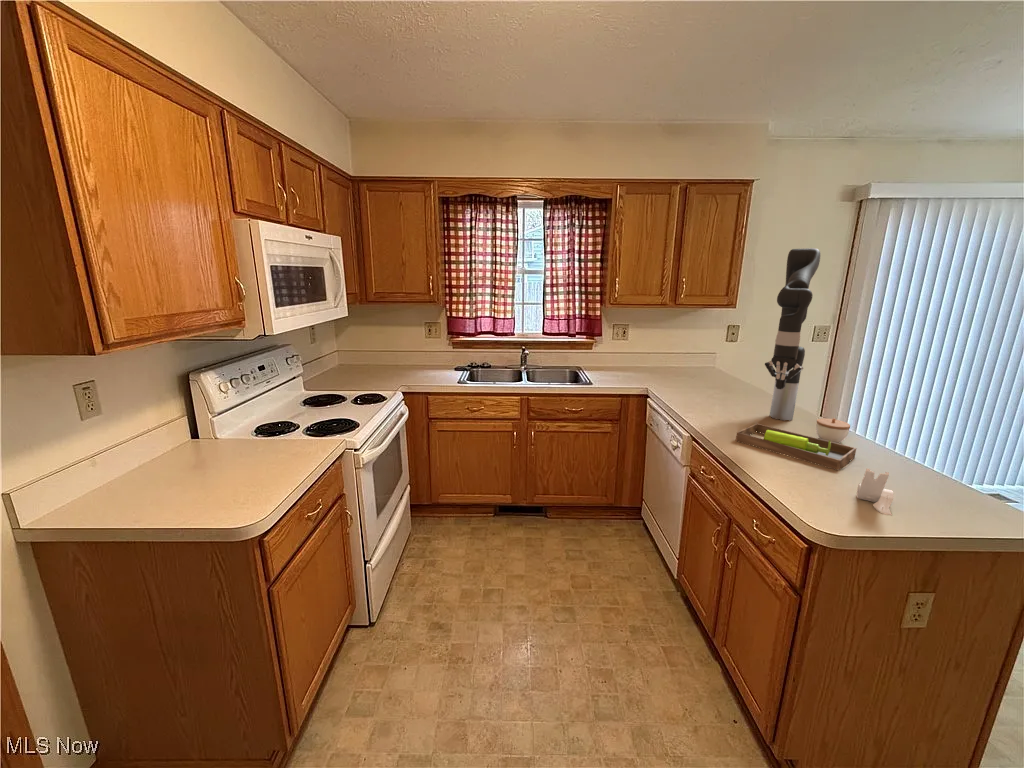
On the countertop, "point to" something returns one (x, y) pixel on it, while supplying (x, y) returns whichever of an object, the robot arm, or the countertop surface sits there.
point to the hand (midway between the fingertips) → (779, 388)
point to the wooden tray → (834, 460)
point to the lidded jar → (832, 429)
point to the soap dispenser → (795, 442)
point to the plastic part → (876, 491)
